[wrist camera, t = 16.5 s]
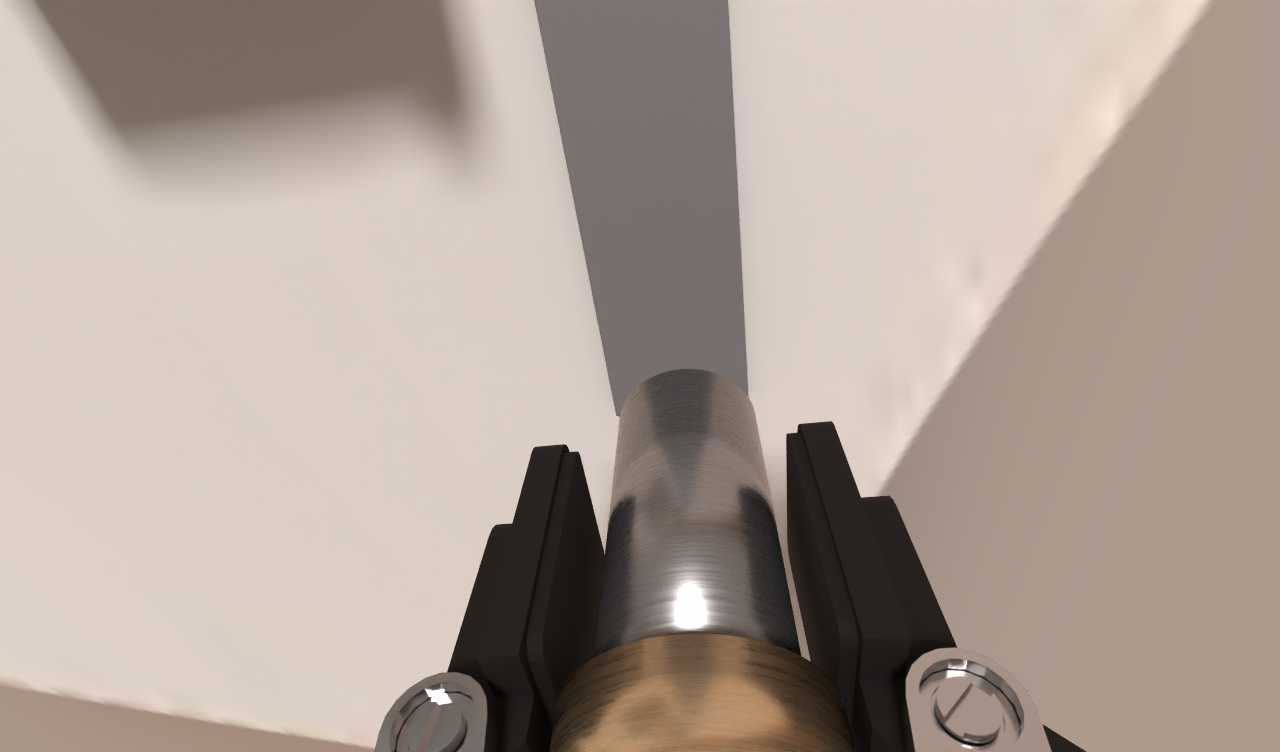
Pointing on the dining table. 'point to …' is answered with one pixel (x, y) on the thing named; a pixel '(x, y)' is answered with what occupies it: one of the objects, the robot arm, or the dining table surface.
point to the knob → (695, 593)
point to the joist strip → (652, 179)
